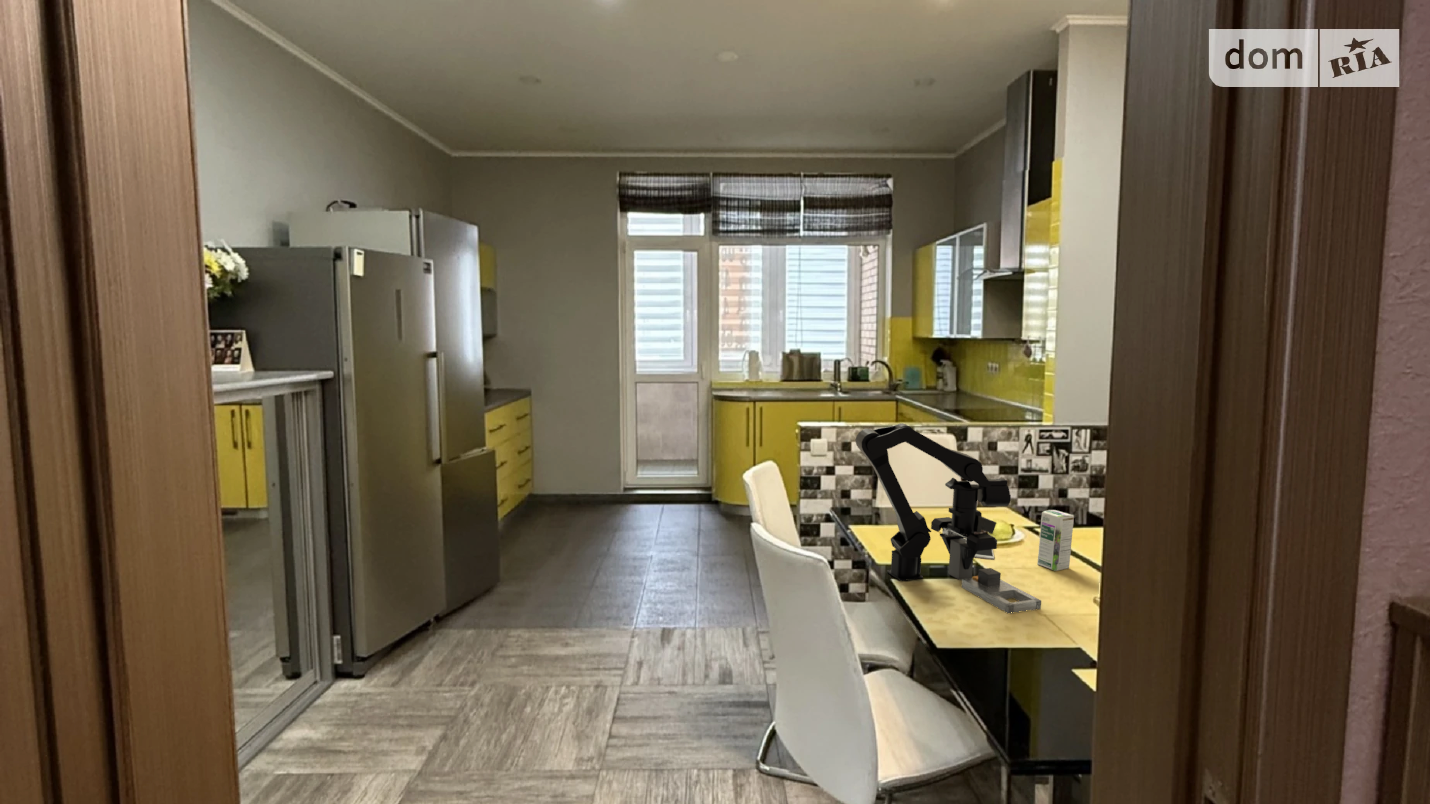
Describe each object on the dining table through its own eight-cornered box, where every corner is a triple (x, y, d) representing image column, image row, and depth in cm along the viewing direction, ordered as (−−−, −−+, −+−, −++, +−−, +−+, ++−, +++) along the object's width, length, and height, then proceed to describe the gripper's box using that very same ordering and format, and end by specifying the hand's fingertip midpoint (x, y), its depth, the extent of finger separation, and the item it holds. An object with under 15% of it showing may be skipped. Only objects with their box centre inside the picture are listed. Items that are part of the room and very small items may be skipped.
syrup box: (1036, 564, 194) (1040, 511, 192) (1051, 561, 196) (1055, 508, 195) (1055, 571, 189) (1059, 517, 187) (1070, 568, 191) (1075, 514, 190)
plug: (958, 579, 182) (960, 544, 181) (948, 574, 185) (950, 539, 184) (971, 578, 183) (974, 543, 182) (961, 572, 187) (963, 538, 186)
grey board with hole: (1008, 613, 162) (1009, 592, 161) (961, 587, 177) (962, 567, 176) (1040, 609, 165) (1042, 587, 164) (992, 583, 180) (993, 563, 179)
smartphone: (990, 544, 212) (991, 540, 211) (994, 561, 197) (994, 557, 197) (964, 541, 214) (964, 538, 214) (966, 558, 199) (966, 554, 199)
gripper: (1017, 513, 176) (1013, 576, 178) (967, 494, 193) (963, 551, 195) (979, 517, 172) (974, 580, 174) (931, 497, 190) (928, 555, 192)
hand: (960, 566), depth 184 cm, fingers closed on plug, 4 cm apart
